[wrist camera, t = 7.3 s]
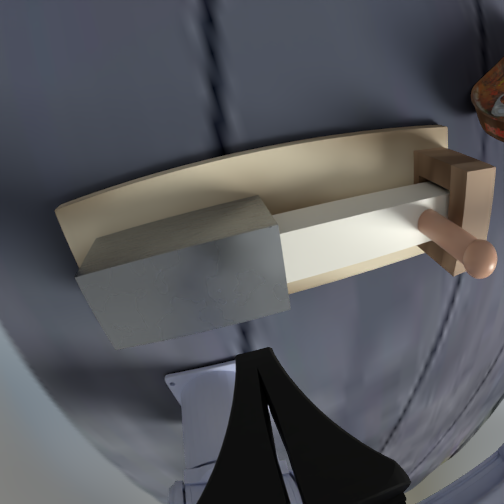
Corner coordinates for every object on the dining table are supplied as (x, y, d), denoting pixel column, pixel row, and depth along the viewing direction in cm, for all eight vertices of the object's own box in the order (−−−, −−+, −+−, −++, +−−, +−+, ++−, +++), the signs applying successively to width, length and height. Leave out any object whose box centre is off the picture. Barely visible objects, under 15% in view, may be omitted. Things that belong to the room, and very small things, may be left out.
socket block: (438, 232, 22) (481, 264, 17) (410, 240, 22) (453, 276, 17) (443, 147, 18) (495, 167, 14) (413, 150, 18) (467, 172, 14)
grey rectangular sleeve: (271, 267, 20) (290, 309, 16) (125, 303, 19) (115, 350, 16) (258, 194, 18) (278, 224, 14) (96, 238, 17) (74, 277, 13)
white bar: (435, 218, 20) (515, 276, 13) (216, 276, 19) (236, 386, 11) (438, 179, 18) (527, 229, 11) (204, 231, 17) (217, 334, 10)
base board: (433, 241, 23) (440, 247, 23) (117, 326, 21) (115, 335, 21) (438, 124, 18) (447, 126, 18) (60, 204, 16) (54, 210, 16)
